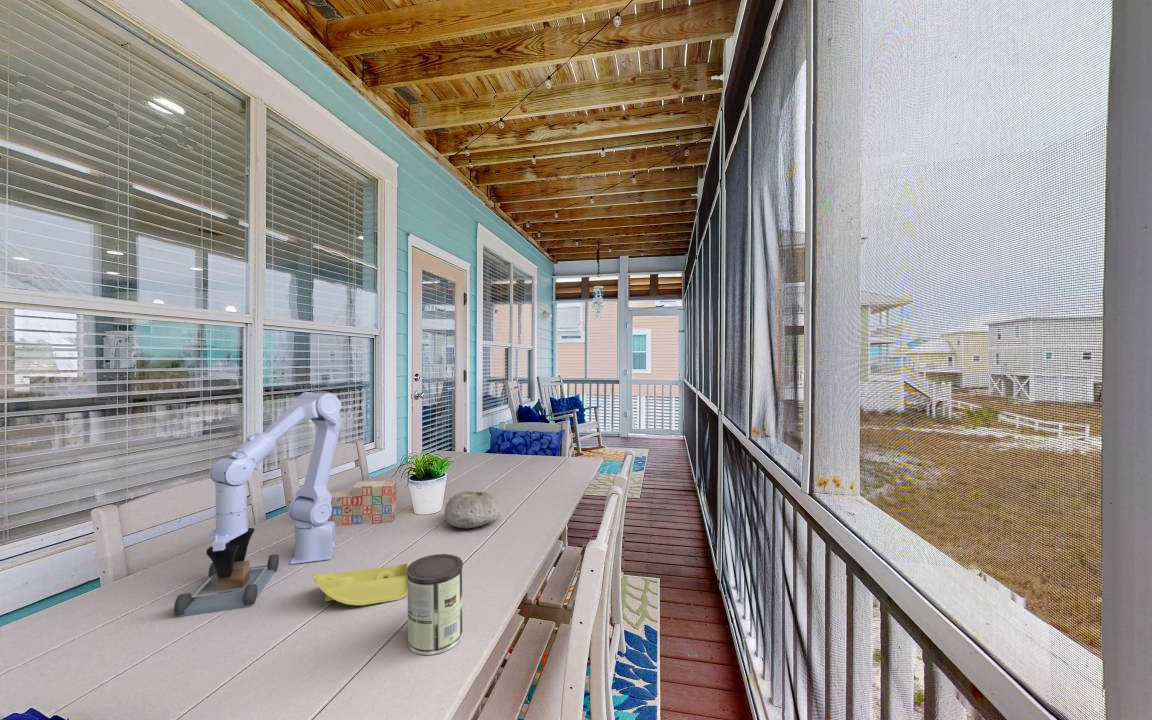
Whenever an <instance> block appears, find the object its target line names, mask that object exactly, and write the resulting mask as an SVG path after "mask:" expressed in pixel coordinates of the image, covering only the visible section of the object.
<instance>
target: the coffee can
mask: <svg viewBox="0 0 1152 720" xmlns="http://www.w3.org/2000/svg"><path fill="white" fill-rule="evenodd" d="M463 566H464V563H463V560H462V559H461V557H458V556H457V555H454V554H448V553H439V554H431V555H426V556H423V557H420V558H418V559H415V561H414V560H413V561H412V562H411V563H410V565H409V566H408V568H407V592H408V593H407V647H408V649H409V650H410V652H412V653H414V654H417V655H421V656H434V655H438V654H439V655H440V654H442V653H445V652H447V651H449V650H451V649H453V648H454V647H456V646H457V645H458V644H459V643H460V641H462V639H463V635H464V631H463Z"/></svg>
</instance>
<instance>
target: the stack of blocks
mask: <svg viewBox="0 0 1152 720" xmlns="http://www.w3.org/2000/svg"><path fill="white" fill-rule="evenodd" d="M329 492H330V494H331V495H332V500H331V505H332V513H331V516H330V518H329V519H328V520H327V521H334V522H335V526H346V525H347V526H351V525H369V524H370V525H371V524H372V525H373V524H374V525H375V524H392V523H393V521H394V520H395V518H396V517H397V480H376V481H375V480H374V481H372V480H371V481H370V480H369V481H357V482H356V483H355V484H354V485H352V488H351V490H350V491H349V490H344V491H343V490H342V491H341V490H340V491H329Z"/></svg>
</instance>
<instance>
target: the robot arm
mask: <svg viewBox="0 0 1152 720" xmlns="http://www.w3.org/2000/svg"><path fill="white" fill-rule="evenodd" d="M342 404H343V403H342V402H341V400H340V399H339V398H338V396H337V395H336V394H334V393H331V392H329V393H328V392H327V393H325V392H324V393H321V392H311V391H305V392H303V393H301V394H300V395H299V396H298V397H297V398H295V399H294V400H292V402H291V404H290V406H289V407H288V408H287V409H286V410H285V411H284V412H283V413H282V414H281V415H280V416H279V417H278V418H277V419H276V420H275V421H274V422H273V423H272V424H271V425H270V426H269V427H267V429H265V431H264V432H256V433H254V434H249V435H248V436H247V437H246V438H245V440H246V441H245V442H243V443H242V444H241V445H239V447H237V449H236V450H234V451H232V450H231V452H230V453H228V457H224V458H221V459H219V460H218V461H216V462H215V463H214V464H213V466H212V469H211V471H209V472H208V475H209V478H210V480H211V481H212V482H213V483H214V488H215V529H214V530H211V531H210V532H209V537H214V541H213V542H212V546H209V547H208V548H207V549H206V556H208V558H210V560H211V561H212V562H213V563H214V565H215V568H216V571H217V574H218V577H219V578H227V577H230V576H231V575H232V571H233V564H234V562H239V561H245V558H246V556H247V555H246V554H247V552H248V547H249V543H250V541H251V539H252V536H253V535H254V532H255V528H253V527H250V528H249V518H248V496H247V495H248V492H247V491H248V482H247V481H249V480H250V479H251V478H252V476H253V474H254V470H255V469H256V467H257V466H258V465H259V464H260V463H261V462H262V461H263V460H265V458H266V457H267V456H269V455H270V454H271V453H272V452H273V451H274V450H276V449H275V448H276V442H277V441H278V440H279V439H280V438H281V437H283V436H284V435H285V434H287V433H288V432H289V431H291V429H292V428H294V427H295V426H296V425H298V424H299V423H300V422H301V421H303V420H304V421H305V420H310V421H311V422H312V423H313V424H314V425H315V426H316V428H317V430H316V431H317V432H316V434H315V438H314V443H313V447H312V452H311V456H310V460H309V464H308V467H307V471H306V476H305V480H304V484H303V486H302V487H301V488H299V490H297V491H296V493H295V495H294V496H295V497H294V499H292V502H291V503H290V505H289V507H288V511H287V512H288V516H289V518H291V520H293V525H294V555H293V557H292V559H291V560H290V562H289V564H290V565H296V564H304V563H312V562H320V561H328V560H331V559H332V557H333V555H334V552H335V551H336V549H337V546H336V525H335V522H334V521H327V520H328V519H329V518H330V516H331V513H332V505H331V500H332V495H331V494H330V492H331V491H329V489H328V488H327V487H328V483H329V479H330V474H331V470H332V465H333V461H334V457H335V452H336V447H337V445H338V440H339V435H340V431H341V428H342V419H341V409H342Z"/></svg>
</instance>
